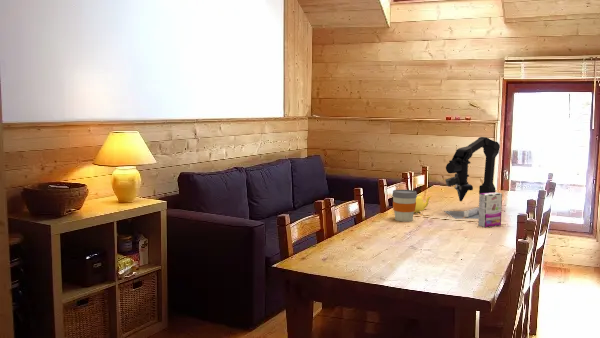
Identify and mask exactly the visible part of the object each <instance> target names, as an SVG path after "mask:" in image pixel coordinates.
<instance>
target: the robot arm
mask: <svg viewBox="0 0 600 338" xmlns="http://www.w3.org/2000/svg"><path fill="white" fill-rule="evenodd" d="M500 147H501V145H500V143H499V142H498V141H495V140H492V139H490V138H489V137H485V136H480V137H478V138H477V139H476V140H475V141H473V142H471V143H470V144H468V145H467V146H463V147H459V148H457V149H456V150H455V152H454V154H453V156H452V158H451V159H450V160H449V162H447V164H446V166H445V171H446V172H447V173H448V174H454V176H452V177H449V178H446V179H445V180H444V181H445V184H446V186H448V187H453V186H455V187H453V189H454V190H456V192H457V195H458V200H459V202H462V201H463V200H464V198H465V197H466V194H467V193H468V192H469V191H473V190H474V186H473V185H472V184H470V183H469V181H468V177H470V174H468V172H469V165H470V164H471V161H470V159H471V158H472V157H473V154H474V153H475V152H477V151H478V150H480V149H481V148H482V149H483V151H482V152H483V155H484V156H485V163H484V174H483V183H482V184H481V185H479V189H478V195H479V194H483V193H493V192H496V187H495V185H494V174H495V164H496V163H495V162H496V157H498V155H499V153H500Z"/></svg>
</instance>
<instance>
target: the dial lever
mask: <svg viewBox="0 0 600 338" xmlns="http://www.w3.org/2000/svg"><path fill="white" fill-rule="evenodd" d="M475 214H479V206H478V207H474V208H470V209H468V210H464V217H470V216H472V215H475Z"/></svg>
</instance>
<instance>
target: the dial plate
mask: <svg viewBox="0 0 600 338" xmlns="http://www.w3.org/2000/svg"><path fill="white" fill-rule="evenodd" d="M464 211H465V210H464ZM464 211H463V210H460V211H459V210H450V211H449V210H444V211H443V212H444V213H445V214H447V215H449V216H451V217H452V218H454V219H456V220H457V219H458V220H459V219H462V220H463V219H464V220H465V219H466V220H467V219H469V220H471V219H474V220H479V214H475V215H472V216H470V217H464Z"/></svg>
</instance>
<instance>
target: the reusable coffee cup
mask: <svg viewBox="0 0 600 338" xmlns="http://www.w3.org/2000/svg"><path fill="white" fill-rule="evenodd" d="M417 196H418V193H417V191H416V190H412V189H394V190H392V196H391V197H392V199H393V200H392V208H393V211H394V220H395V221H397V222H402V223H403V222H405V223H406V222H412V221H413V219H414V214H415V213H414V211H415V207H416V198H417Z"/></svg>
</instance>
